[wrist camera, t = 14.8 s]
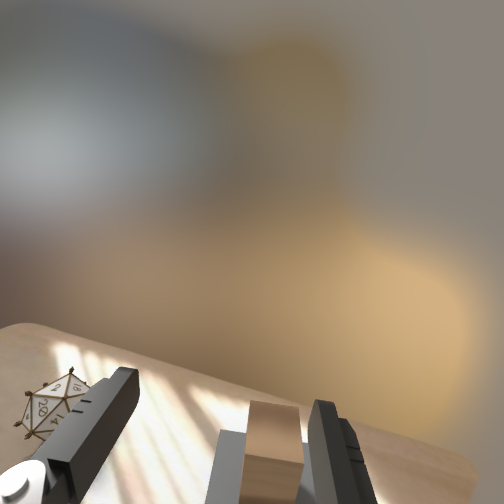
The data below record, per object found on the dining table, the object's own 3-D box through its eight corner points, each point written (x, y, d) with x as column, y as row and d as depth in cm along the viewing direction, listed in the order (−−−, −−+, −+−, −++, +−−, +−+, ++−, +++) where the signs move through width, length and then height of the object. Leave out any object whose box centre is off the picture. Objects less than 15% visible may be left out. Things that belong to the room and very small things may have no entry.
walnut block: (287, 532, 25) (304, 463, 21) (236, 523, 25) (244, 453, 22) (284, 470, 30) (298, 407, 27) (242, 463, 30) (250, 400, 27)
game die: (80, 447, 34) (96, 435, 29) (0, 460, 30) (1, 448, 24) (95, 380, 40) (110, 360, 35) (30, 382, 35) (36, 358, 30)
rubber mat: (329, 604, 21) (331, 599, 21) (190, 577, 22) (190, 571, 22) (308, 448, 34) (310, 443, 33) (220, 434, 34) (220, 429, 34)
